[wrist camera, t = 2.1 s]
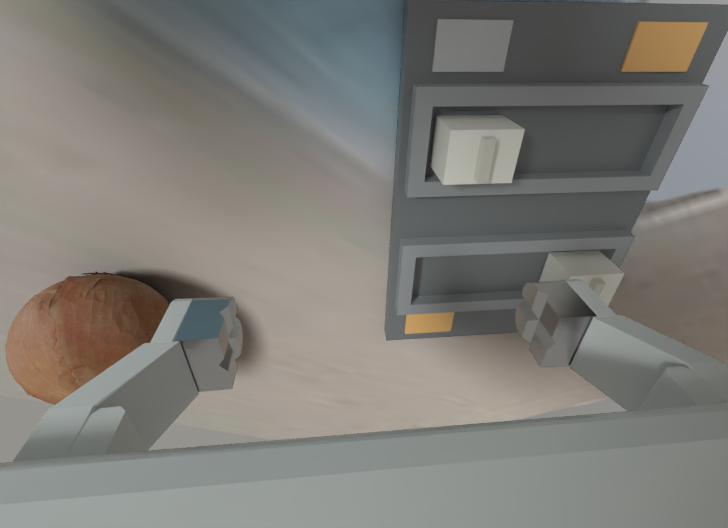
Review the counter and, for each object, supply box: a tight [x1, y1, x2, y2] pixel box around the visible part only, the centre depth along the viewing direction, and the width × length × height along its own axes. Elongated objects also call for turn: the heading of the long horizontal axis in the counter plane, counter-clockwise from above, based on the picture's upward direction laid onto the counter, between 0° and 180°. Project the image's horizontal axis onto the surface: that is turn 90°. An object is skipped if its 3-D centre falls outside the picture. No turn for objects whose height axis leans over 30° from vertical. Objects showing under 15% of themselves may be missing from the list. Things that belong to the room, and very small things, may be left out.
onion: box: [6, 271, 170, 405], centre depth 25 cm, size 10×9×10 cm
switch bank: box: [385, 0, 728, 340], centre depth 26 cm, size 24×18×2 cm
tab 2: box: [539, 250, 625, 306], centre depth 28 cm, size 3×4×4 cm
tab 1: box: [430, 115, 525, 185], centre depth 21 cm, size 3×4×4 cm
